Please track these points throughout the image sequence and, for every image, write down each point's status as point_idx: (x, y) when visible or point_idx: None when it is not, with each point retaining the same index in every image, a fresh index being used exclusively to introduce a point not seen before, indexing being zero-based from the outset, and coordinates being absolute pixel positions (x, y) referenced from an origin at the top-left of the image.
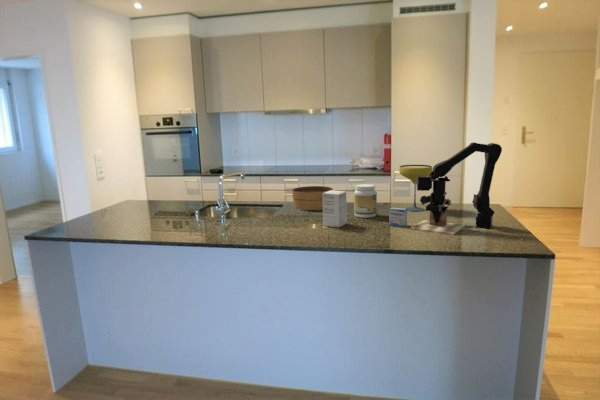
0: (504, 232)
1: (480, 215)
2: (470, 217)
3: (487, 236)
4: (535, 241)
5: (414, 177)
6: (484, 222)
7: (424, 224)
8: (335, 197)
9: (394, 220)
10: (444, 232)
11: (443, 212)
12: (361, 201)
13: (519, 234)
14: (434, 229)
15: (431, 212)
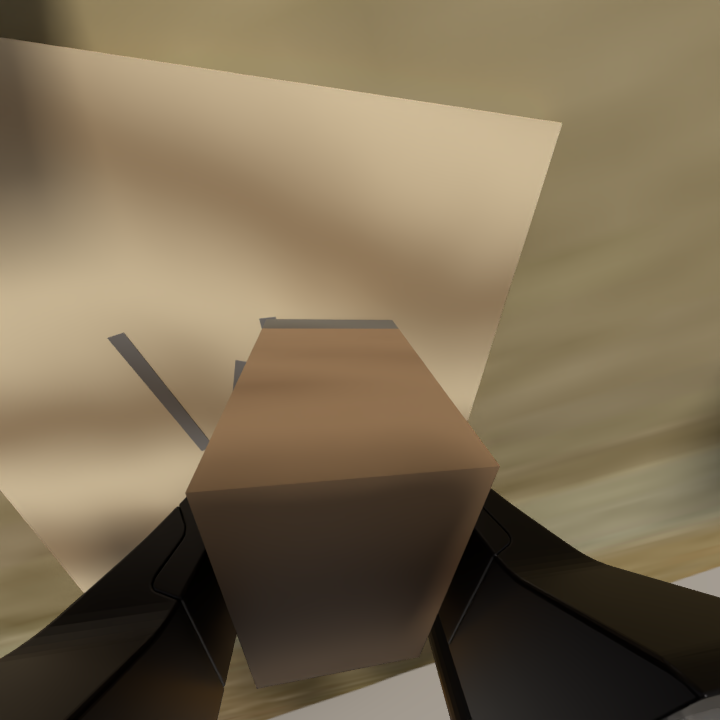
0: None
1: (465, 707)
2: (703, 479)
3: (239, 652)
4: (281, 714)
5: None
6: (431, 647)
7: (228, 241)
8: None
9: None
10: (50, 545)
11: (390, 640)
12: None
13: (359, 676)
14: (57, 453)
15: (220, 529)
